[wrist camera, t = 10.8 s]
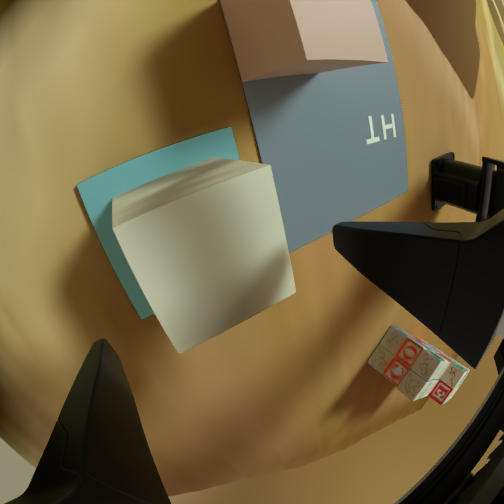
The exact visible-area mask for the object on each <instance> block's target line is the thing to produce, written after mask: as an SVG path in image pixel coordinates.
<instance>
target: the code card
mask: <svg viewBox="0 0 504 504" xmlns="http://www.w3.org/2000/svg"><path fill="white" fill-rule="evenodd" d="M219 1H220V0H219ZM371 2H372V5H373V8H374V11H375V14H376V18H377V21H378V24H379V28H380V31H381V35H382V38H383V42H384V46H385V50H386V54H387V59H388V63H379V64H371V65H363V66H356V67H350V68H344V69H338V70H333V71H328V72H323V73H315V74H302V75H291V76H282V77H274V78H266V79H259V80H253V81H247V82H242V85H243V89H244V93H245V96H246V100H247V104H248V108H249V112H250V116H251V121H252V125H253V129H254V133H255V137H256V141H257V145H258V150H259V154H260V158H261V162H262V164H268V165H271V169H272V174H273V178H274V183H275V188H276V192H277V197H278V202H279V206H280V211H281V216H282V221H283V226H284V231H285V236H286V241H287V246H288V251H289V253H290V252H292V251H294V250H296V249H298V248H300V247H302V246H304V245H306V244H308V243H310V242H312V241H314V240H316V239H318V238H320V237H322V236H324V235H325V234H327V233H329V232H331V231H332V228H333V226H334V225H336V224H338V223H340V222H351V221H352V220H354V219H356V218H358V217H360V216H362V215H364V214H366V213H368V212H370V211H372V210H373V209H375V208H377V207H379V206H381V205H383V204H385V203H387V202H389V201H390V200H392V199H394V198H396V197H398V196H400V195H402V194H404V193H405V192H407V191H408V171H407V154H406V142H405V132H404V123H403V115H402V107H401V101H400V94H399V88H398V83H397V78H396V72H395V68H394V63H393V58H392V54H391V50H390V46H389V42H388V38H387V34H386V31H385V27H384V24H383V21H382V17H381V14H380V11H379V8H378V5H377V2H376V0H371ZM220 4H221V2H220ZM221 8H222V5H221ZM222 11H223V8H222ZM223 15H224V12H223ZM224 18H225V15H224ZM225 22H226V19H225ZM226 25H227V22H226ZM227 29H228V26H227ZM228 32H229V29H228ZM229 36H230V33H229ZM230 40H231V37H230ZM231 43H232V40H231ZM232 47H233V44H232ZM233 51H234V48H233ZM234 54H235V51H234ZM235 58H236V55H235ZM236 62H237V59H236ZM237 66H238V62H237ZM238 69H239V66H238ZM239 73H240V70H239ZM240 77H241V74H240ZM241 81H242V78H241Z"/></svg>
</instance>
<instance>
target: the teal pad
mask: <svg viewBox="0 0 504 504" xmlns="http://www.w3.org/2000/svg"><path fill="white" fill-rule="evenodd" d="M213 157H217V158H225V159H233V160H240V159H239V155H238V151H237V147H236V143H235V139H234V135H233V132H232V128H231V127H226V128H223V129H219V130H216V131H212V132H209V133H206V134H203V135H199V136H196V137H193V138H190V139H187V140H184V141H181V142H178V143H175V144H172V145H169V146H166V147H164V148H161V149H158V150H155V151H153V152H150V153H148V154H145V155H142V156H140V157H137V158H135V159H132V160H130V161H127V162H125V163H123V164H120V165H118V166H116V167H113V168H111V169H109V170H107V171H104V172H102V173H100V174H98V175H96V176H93V177H91V178H89V179H87V180H85V181H83V182H81V183H79V184H77V187H78V190H79V192H80V195H81V198H82V200H83V203H84V205H85V208H86V210H87V212H88V215H89V217H90V220H91V222H92V224H93V226H94V229H95V231H96V233H97V235H98V238H99V240H100V242H101V244H102V246H103V248H104V250H105V253H106V255H107V257H108V259H109V261H110V263H111V265H112V267H113V269H114V271H115V273H116V275H117V277H118V278H119V280H120V282H121V284H122V286H123V288H124V290H125V292H126V293H127V295H128V297H129V299H130V301H131V302H132V304H133V306H134V308H135V309H136V311H137V313H138V314H139V316H140V318H141V320H142V319H145V318H147V317H149V316H151V315H153V314H155V313H154V311H153V310H152V308H151V306H150V304H149V302H148V300H147V299H146V297H145V295H144V293H143V291H142V289H141V287H140V285H139V283H138V281H137V279H136V277H135V275H134V273H133V271H132V269H131V267H130V265H129V263H128V261H127V259H126V257H125V255H124V253H123V251H122V249H121V246H120V244H119V242H118V240H117V238H116V235H115V233H114V231H113V228H112V198H113V197H115V196H117V195H119V194H122V193H124V192H126V191H128V190H131V189H133V188H135V187H138V186H140V185H142V184H145V183H147V182H150V181H152V180H154V179H157V178H159V177H162V176H164V175H167V174H169V173H172V172H175V171H177V170H180V169H183V168H185V167H188V166H191V165H193V164H196V163H199V162H202V161H205V160H208V159H211V158H213Z"/></svg>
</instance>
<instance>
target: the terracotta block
mask: <svg viewBox="0 0 504 504" xmlns="http://www.w3.org/2000/svg"><path fill="white" fill-rule="evenodd" d="M220 2H221V5H222V8H223V12H224V15H225V19H226V22H227V26H228V29H229V33H230V37H231V40H232V44H233V48H234V51H235V55H236V59H237V62H238V66H239V70H240V74H241V78H242V82H247V81H253V80H259V79H266V78H274V77H282V76H291V75H302V74H315V73H323V72H328V71H333V70H338V69H344V68H350V67H356V66H363V65H371V64H379V63H388V59H387V54H386V50H385V46H384V42H383V38H382V35H381V31H380V28H379V24H378V21H377V18H376V14H375V11H374V8H373V5H372V2H371V0H220Z"/></svg>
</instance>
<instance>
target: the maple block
mask: <svg viewBox="0 0 504 504" xmlns="http://www.w3.org/2000/svg"><path fill="white" fill-rule="evenodd" d="M112 228H113V231H114V233H115V235H116V238H117V240H118V242H119V244H120V246H121V249H122V251H123V253H124V255H125V257H126V259H127V261H128V263H129V265H130V267H131V269H132V271H133V273H134V275H135V277H136V279H137V281H138V283H139V285H140V287H141V289H142V291H143V293H144V295H145V297H146V299H147V300H148V302H149V304H150V306H151V308H152V310H153V311H154V313H155V315H156V317H157V319H158V320H159V322H160V324H161V326H162V327H163V329H164V331H165V332H166V334H167V336H168V337H169V339H170V341H171V342H172V344H173V346H174V347H175V349H176V351H177V352H178V354H180V353H182V352H184V351H187V350H189V349H191V348H193V347H195V346H197V345H199V344H201V343H203V342H205V341H207V340H209V339H211V338H213V337H214V336H216V335H218V334H220V333H222V332H224V331H226V330H228V329H230V328H232V327H234V326H236V325H238V324H239V323H241V322H243V321H245V320H247V319H249V318H251V317H252V316H254V315H256V314H258V313H260V312H262V311H263V310H265V309H267V308H269V307H271V306H273V305H274V304H276V303H278V302H280V301H281V300H283V299H285V298H287V297H288V296H290V295H292V294H294V293H295V292H296V289H295V283H294V278H293V272H292V267H291V262H290V256H289V251H288V246H287V241H286V236H285V231H284V226H283V221H282V216H281V211H280V206H279V202H278V197H277V192H276V188H275V183H274V178H273V174H272V169H271V165H268V164H261V163H255V162H248V161H241V160H233V159H225V158H217V157H213V158H211V159H208V160H205V161H202V162H199V163H196V164H193V165H191V166H188V167H185V168H183V169H180V170H177V171H175V172H172V173H169V174H167V175H164V176H162V177H159V178H157V179H154V180H152V181H150V182H147V183H145V184H142V185H140V186H138V187H135V188H133V189H131V190H128V191H126V192H124V193H122V194H119V195H117V196H115V197H113V198H112Z"/></svg>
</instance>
